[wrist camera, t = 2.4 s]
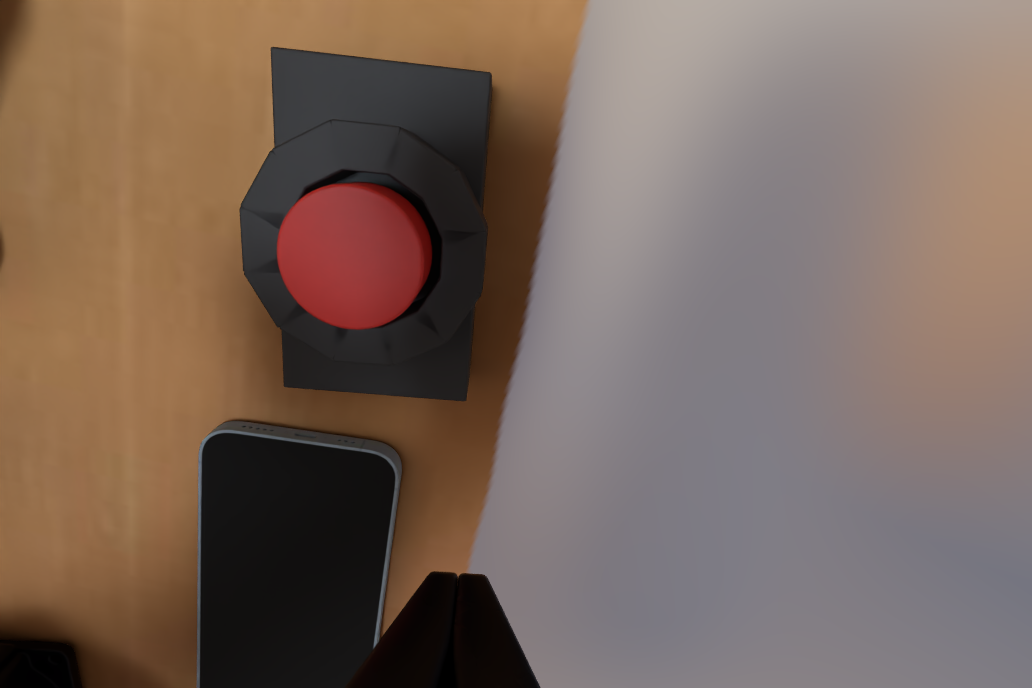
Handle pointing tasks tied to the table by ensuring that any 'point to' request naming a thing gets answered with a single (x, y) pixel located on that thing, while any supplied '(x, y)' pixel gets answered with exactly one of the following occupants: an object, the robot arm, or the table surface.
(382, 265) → the button
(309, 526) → the smartphone
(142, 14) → the table surface
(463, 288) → the switch block
